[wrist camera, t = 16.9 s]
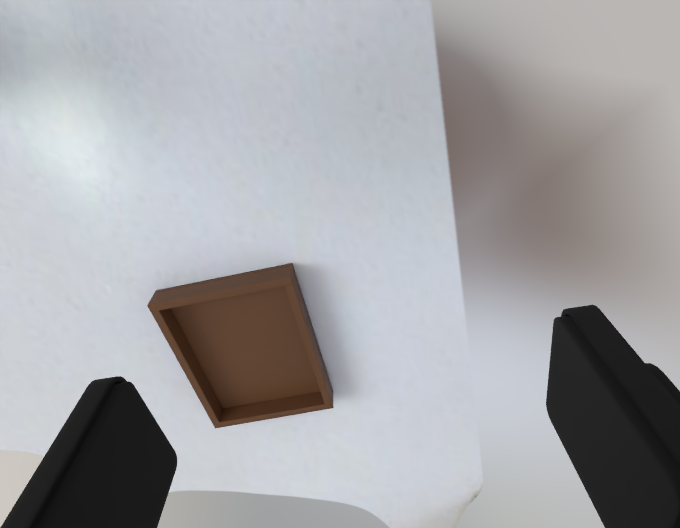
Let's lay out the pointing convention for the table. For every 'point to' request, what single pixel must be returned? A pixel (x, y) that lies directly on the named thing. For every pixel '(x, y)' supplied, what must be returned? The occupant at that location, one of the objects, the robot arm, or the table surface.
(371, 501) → the table surface
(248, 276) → the tray
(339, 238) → the table surface
